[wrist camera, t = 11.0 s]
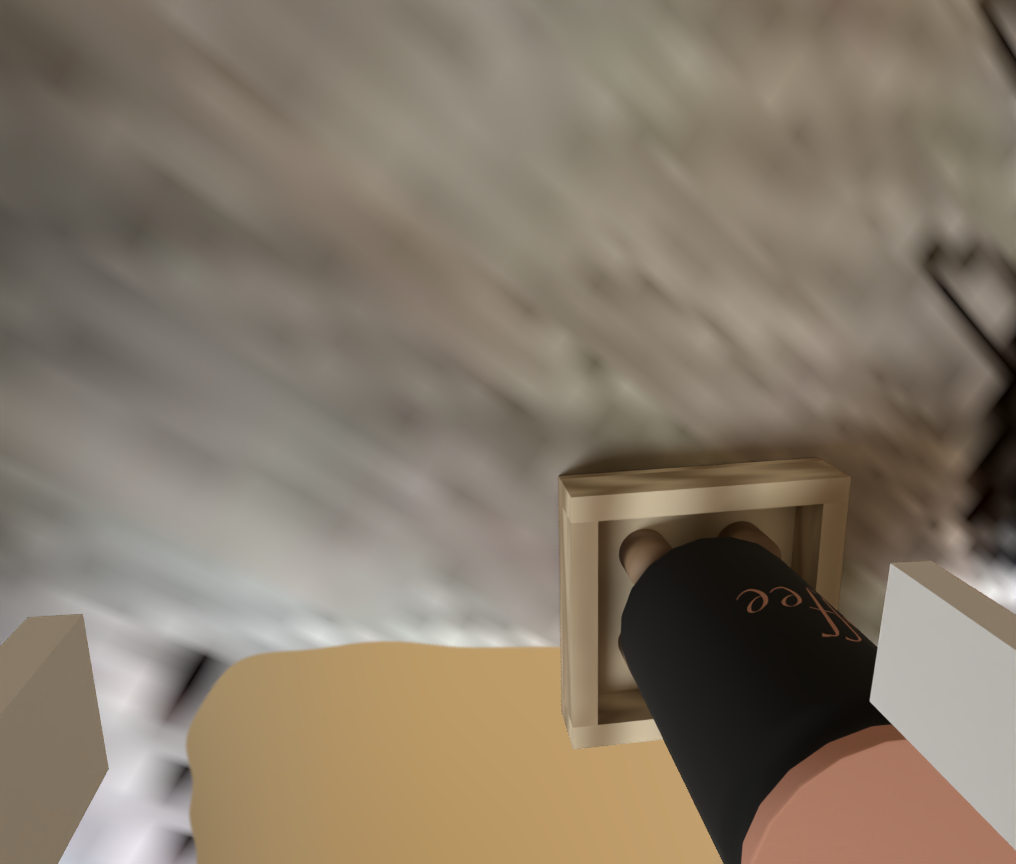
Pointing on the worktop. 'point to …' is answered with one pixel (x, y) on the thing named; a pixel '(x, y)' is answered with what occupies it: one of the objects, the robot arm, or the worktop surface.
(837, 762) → the coffee jar
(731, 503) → the peg frame
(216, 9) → the worktop surface
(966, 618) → the robot arm
